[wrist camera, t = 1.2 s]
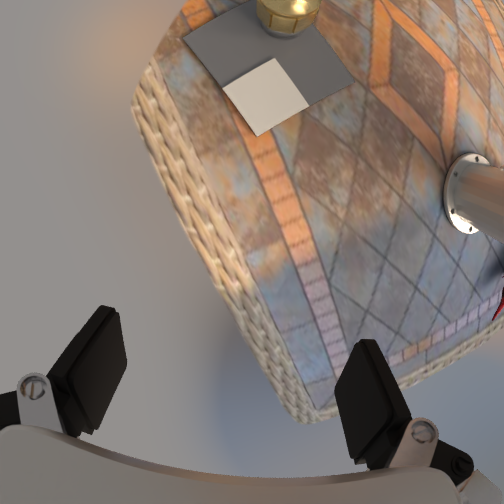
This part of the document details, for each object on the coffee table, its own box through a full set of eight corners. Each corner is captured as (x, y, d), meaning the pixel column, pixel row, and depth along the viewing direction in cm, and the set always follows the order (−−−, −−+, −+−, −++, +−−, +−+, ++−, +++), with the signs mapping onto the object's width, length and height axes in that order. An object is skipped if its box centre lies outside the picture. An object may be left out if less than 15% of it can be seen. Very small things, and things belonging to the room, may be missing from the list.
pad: (274, 59, 26) (274, 57, 26) (308, 106, 28) (309, 105, 28) (222, 89, 28) (222, 88, 27) (257, 136, 30) (257, 136, 29)
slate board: (279, -9, 23) (279, -13, 22) (352, 83, 28) (355, 82, 27) (184, 40, 26) (182, 38, 25) (257, 137, 31) (257, 136, 30)
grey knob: (288, -1, 23) (295, -27, 16) (314, 29, 24) (327, 6, 18) (251, 16, 24) (250, -10, 18) (277, 46, 26) (282, 24, 19)
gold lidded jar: (291, -14, 20) (298, -39, 14) (323, 21, 22) (336, -1, 16) (247, 5, 21) (245, -20, 16) (278, 40, 23) (283, 20, 18)
